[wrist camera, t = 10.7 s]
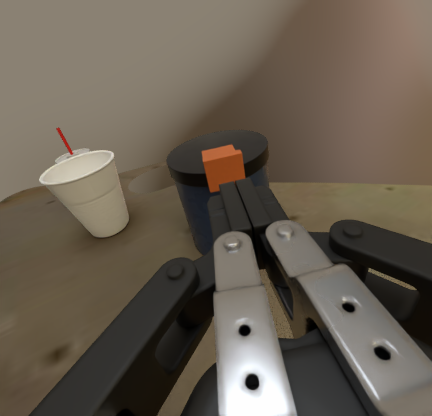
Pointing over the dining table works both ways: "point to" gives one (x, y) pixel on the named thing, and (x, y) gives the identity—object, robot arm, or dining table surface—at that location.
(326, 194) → the dining table surface
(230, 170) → the slider
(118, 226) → the cup
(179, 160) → the blue lidded canister
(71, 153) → the beverage cup
